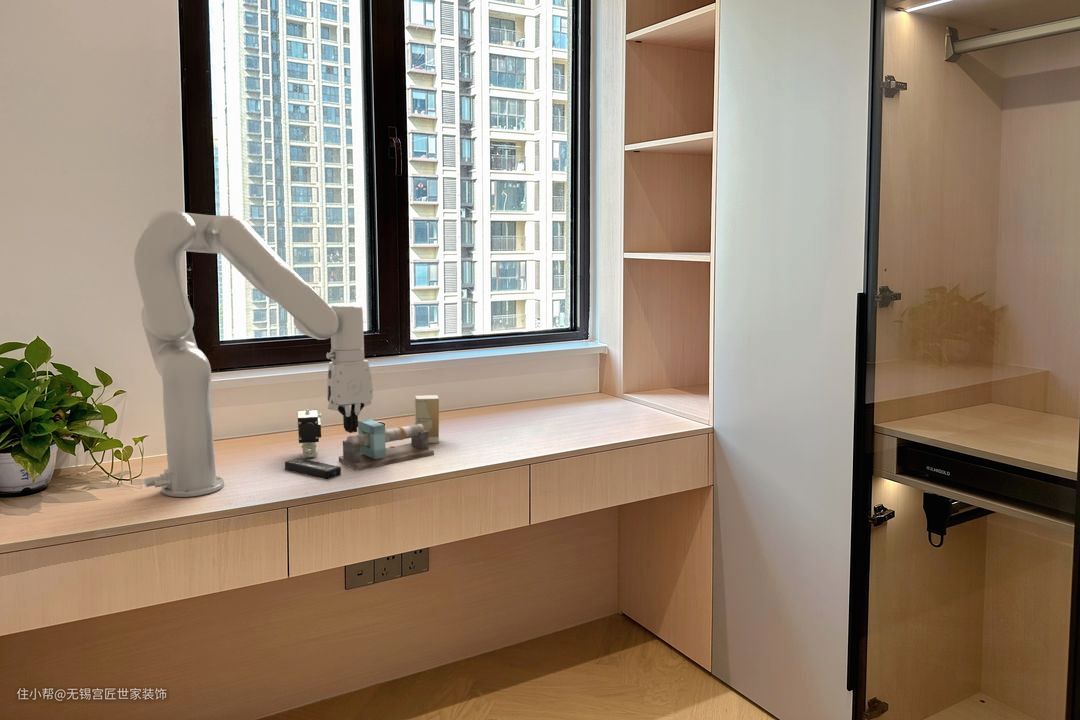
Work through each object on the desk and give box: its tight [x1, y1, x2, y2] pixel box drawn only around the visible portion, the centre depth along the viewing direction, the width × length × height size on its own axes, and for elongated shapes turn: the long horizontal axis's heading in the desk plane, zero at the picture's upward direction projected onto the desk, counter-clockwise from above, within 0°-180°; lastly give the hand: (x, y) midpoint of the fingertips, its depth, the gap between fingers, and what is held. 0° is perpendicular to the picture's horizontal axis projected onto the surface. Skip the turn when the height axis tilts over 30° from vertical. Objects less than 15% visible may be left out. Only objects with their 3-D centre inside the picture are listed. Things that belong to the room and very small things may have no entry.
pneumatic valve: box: [297, 408, 322, 459], centre depth 208 cm, size 6×12×12 cm, turn 15°
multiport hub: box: [284, 457, 342, 480], centre depth 196 cm, size 4×14×2 cm, turn 57°
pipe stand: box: [338, 424, 435, 471], centre depth 207 cm, size 21×10×7 cm, turn 129°
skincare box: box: [414, 394, 440, 444], centre depth 222 cm, size 6×4×12 cm
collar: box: [357, 418, 387, 459], centre depth 205 cm, size 3×8×8 cm, turn 39°
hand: (351, 431), depth 201 cm, fingers closed
